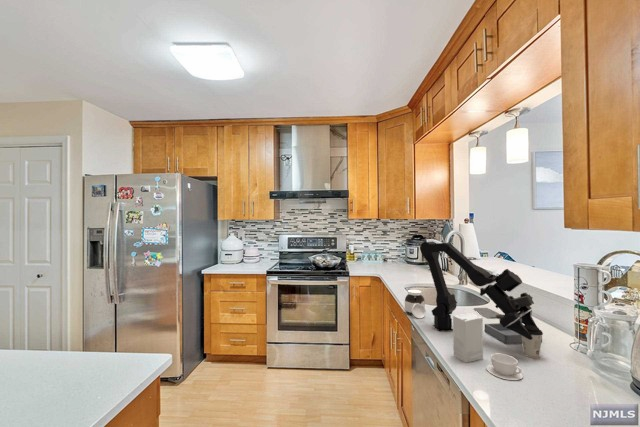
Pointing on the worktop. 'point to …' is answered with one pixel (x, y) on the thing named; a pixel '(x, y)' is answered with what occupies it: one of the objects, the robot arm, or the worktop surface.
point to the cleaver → (488, 313)
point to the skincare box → (468, 337)
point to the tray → (503, 334)
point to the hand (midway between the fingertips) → (535, 335)
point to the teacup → (504, 367)
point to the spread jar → (415, 304)
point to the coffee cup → (532, 342)
